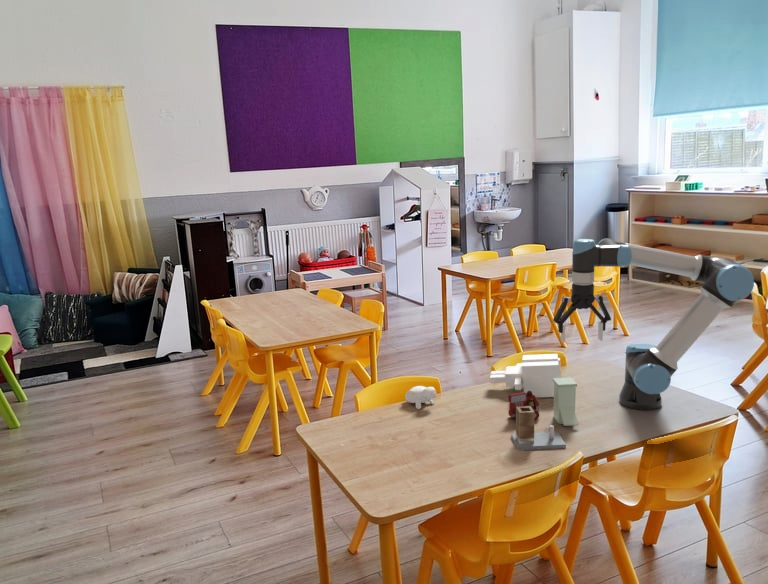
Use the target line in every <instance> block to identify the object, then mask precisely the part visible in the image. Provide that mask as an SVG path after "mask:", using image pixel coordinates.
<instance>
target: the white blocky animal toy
mask: <svg viewBox="0 0 768 584" xmlns="http://www.w3.org/2000/svg"><path fill="white" fill-rule="evenodd" d="M404 397H405V402H406V403H411V404H415V409H417V410H420V409H421V408H422V404H423V403H426V402H428V403H430V405H435V404H436V402H435V400H434V398H436V397H437V390H436V389H435V387H433V386H427V387H426V386H424V385H416V386H413V387H411V389H409V390H407V391H406V393H405V395H404Z"/></svg>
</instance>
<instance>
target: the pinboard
mask: <svg viewBox="0 0 768 584" xmlns="http://www.w3.org/2000/svg"><path fill="white" fill-rule="evenodd" d="M510 435H511V439H512V441H513V443H514V445H515V447H516V449H517V451H530V450H531V451H532V450H533V451H534V450H546V449H547V450H549V449H550V450H551V449H566V448H567V444H566V442H565V441H564V440H563V439H564V438H562V436H561V434H560V433H559V432H558V431H555V426H554V425H548V431H545V432H544V431H542V432H540V431H539V432H534V443H519V442H518V440H517V438H516V433H511V434H510Z"/></svg>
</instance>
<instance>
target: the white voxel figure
mask: <svg viewBox="0 0 768 584" xmlns="http://www.w3.org/2000/svg"><path fill="white" fill-rule="evenodd" d="M558 355H559V353H545V354H523V355H522V358H521V361H522V362H520V363H519V362H518V363H516V365H512V366H509V365H508V366H506V367H505V370H492V371H491V372H490V376H489V379H490V381H489V382H490V384H497V383H498V384H499V383H503V384H505V387H506V388H513V387H514V390H515V391H521V390H522V387H523V392H525V393H526V394H527V391H532V394H533V395H535V397H536V398H554V382H553V378H562V369H561V366H562V365H561V357H558Z"/></svg>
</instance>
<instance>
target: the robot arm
mask: <svg viewBox="0 0 768 584" xmlns="http://www.w3.org/2000/svg"><path fill="white" fill-rule="evenodd" d="M571 266H572V267H571V268H572V270H571V274H572V276H571V280H572V281H571V282H572V284H571V296H569V297H568V296H563V297H562V300H561V304H559V305H560V306H559V308H558V309H557V311H556V313H555V315H554V317H553V319H552V320H553V322H554V323H555V324H557V325H558V326H557V331H558V333H559V334H560V341H561V342H562V343H566V324H565V322H566V321H567V320H569V318H570V316H571V315H572V314H573V313H574V312H575V311H576V310H577V309H578V310H583V309H584V310H588V309H590V310H591V311H592V312H593V313H594V314H595V316H597V318H598V319H599V320H598V321H597V325H598V326H597V339H598V340H599V341H600V342H601V341H603V337H604V332H605V331H606V324H607V322H610V321H612V318H611V317H612V316H611V315H610V313H609V311H608V310H607V307H606V305H605V303H604V297H603V296H602V295H600V294H597V295H595V294H594V293H595V291H594V290H595V284H594V283H595V267H597V268H598V267H614V268H615V267H619V268H621V267H628V266H635V267H638V268H639V267H640V268H645V269H648V270H649V269H650V270H652V271H654V270H655V271H658V272H659V271H660V272H664V273H668V274H669V273H670V274H674V275H679V276H683V277H687V278H690V279H691V281H694V282H698V283H701V284H702V285H701V286H700V294H699V296H698V297H697V298H696V299H695V300H694V302H693V303H692V304H691V305H690V307H689V308H687V310H686V311H685V312H684V314H683V315H682V316H680V318H679V319H678V320H677V322H676V323H675V324H674V325H673V327H671V329H670V330H669V331H668V332H667V333H666V335H665V336H664V337H663V338H662V340H661V341H660V342H659V343H658V344H657V345H656V344H655V345H654V344H649V343H648V344H647V343H632V344H628V345H627V346H626V349H625V352H624V353H625V366H624V367H625V371H624V372H625V373H624V382H623V383H624V384H623V385H622V388H621V389H620V393H619V395H618V398H619V399H618V402H619V403H620V404H621V405H622V406H624V407H626V408H629V409H634V410H638V411H652V410H656V409H659V408H661V406H662V400H663V399H662V395H661V393H663V392H665V391H666V390H667V389H668V388H669V387H670V385H671V381H672V376H673V375H674V374H675V372H676V371H678V368H679V367H678V362H679V361H680V360H681V358H682V357H683V356H684V355H685V354H686V353H687V351H688V350H689V349H690V348H691V347H692V345H694V343H696V342H697V340H698V339H699V338H700V337H701V335H702V334H703V333H704V332H705V331H706V330H707V328H708V327H709V326H710V325H711V324H712V323H713V321H715V319H717V317H718V315H720V313H721V312H722V311H723V310H725V309H731V308H732V307H733V306H734V305H735V303H737V302H738V301H741V300H744V299H745V298H748V297H749V295H750V294H751V293H752V291H753V289H754V287H755V279H754V276H753V273H752V271H751V270H749V269H748V268H747V267H746V266H744V265H742V264H741V263H738V262H737V261H734V260H733V259H730V258H727V257H718V256H711V255H704V254H697V255H695V256H694V255H690V254H682V253H678V252H673V251H668V250H663V249H659V248H653V247H650V246H649V247H647V246H644V245H639V244H635V243H634V244H632V243H627V242H623V241H617V240H614V239H613V238H608V237H607V238H602V239H601V240H600V241H598V242H597V243H596V241H595V240H594V239H589V238H579V239H575V240H574V241H573V243H572V263H571ZM595 301H596V302H597V303H598V305H599V307H600V309H601V312H602V313H603V315H602V313H601V312H599V310H597V308H596V307H595V305H594V304H593V303H594V302H595ZM570 302H571V304H570V305H569V307H568V304H569V303H570ZM567 307H568V308H567ZM566 308H567V310H566ZM565 310H566V311H565ZM564 311H565V312H564Z"/></svg>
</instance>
